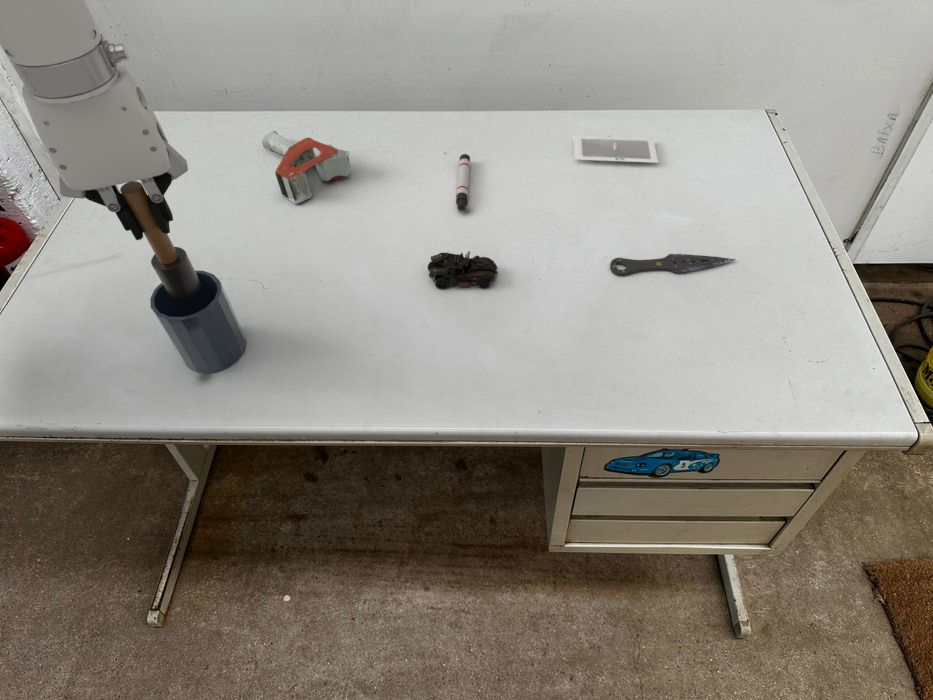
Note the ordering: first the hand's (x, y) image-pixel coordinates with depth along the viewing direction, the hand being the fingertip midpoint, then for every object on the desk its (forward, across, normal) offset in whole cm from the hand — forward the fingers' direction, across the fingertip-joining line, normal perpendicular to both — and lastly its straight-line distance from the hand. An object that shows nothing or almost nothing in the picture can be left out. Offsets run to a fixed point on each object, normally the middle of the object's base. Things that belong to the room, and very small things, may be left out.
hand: (152, 228), depth 68 cm
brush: (+10, 0, 0) cm, 10 cm away
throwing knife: (+22, -69, +8) cm, 73 cm away
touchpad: (+22, -75, -22) cm, 81 cm away
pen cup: (+22, 0, 0) cm, 22 cm away
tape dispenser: (+22, -20, -37) cm, 47 cm away
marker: (+22, -45, -22) cm, 55 cm away
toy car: (+22, -38, -1) cm, 44 cm away
